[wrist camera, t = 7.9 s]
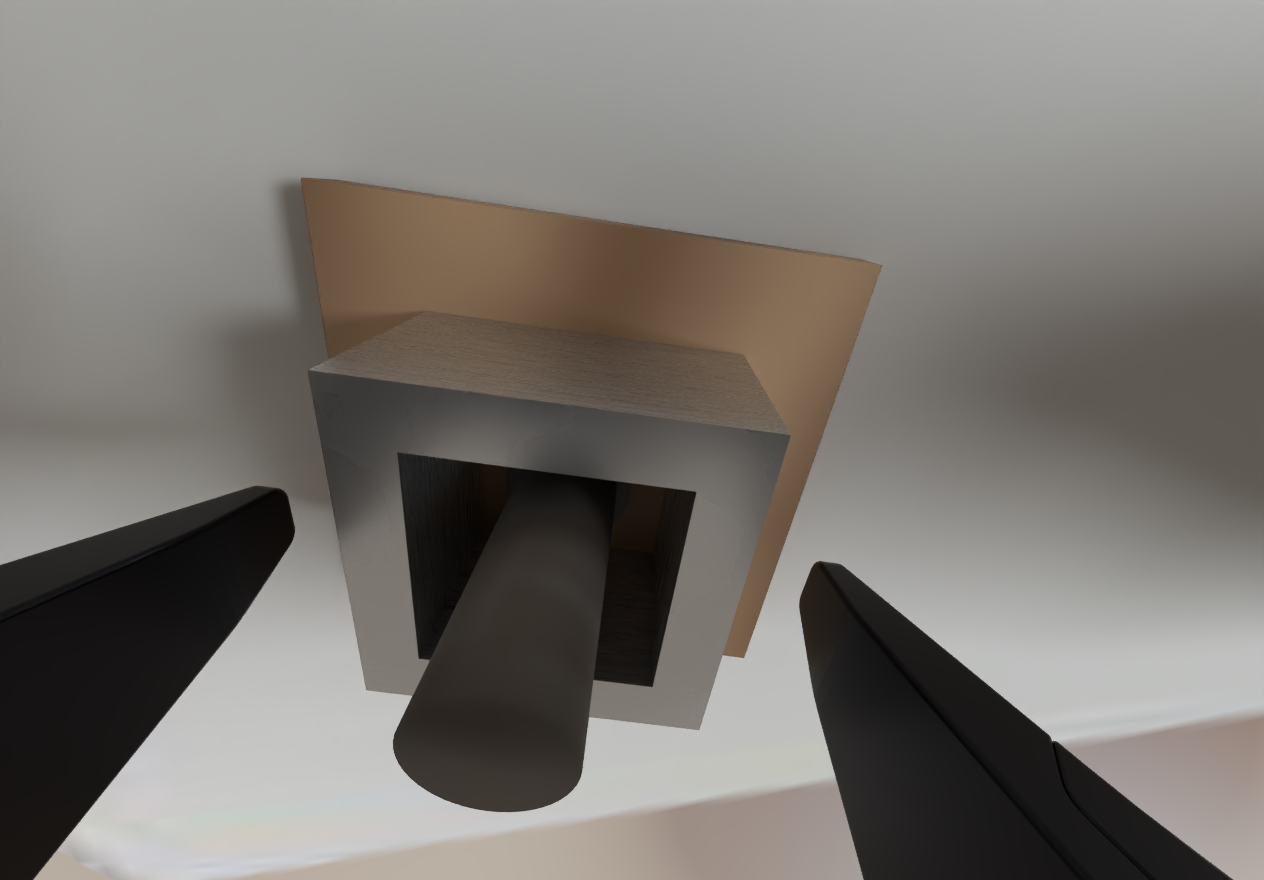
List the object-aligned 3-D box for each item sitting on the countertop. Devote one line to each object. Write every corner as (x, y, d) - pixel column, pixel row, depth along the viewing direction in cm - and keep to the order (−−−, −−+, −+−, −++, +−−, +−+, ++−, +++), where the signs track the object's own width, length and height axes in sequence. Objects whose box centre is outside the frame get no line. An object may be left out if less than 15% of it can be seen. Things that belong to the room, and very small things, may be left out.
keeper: (859, 259, 9) (1295, 385, 3) (738, 627, 14) (809, 988, 7) (336, 179, 9) (-395, 135, 3) (386, 582, 13) (154, 915, 7)
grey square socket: (744, 354, 9) (790, 435, 6) (686, 589, 12) (698, 730, 9) (427, 310, 9) (307, 369, 6) (443, 558, 12) (366, 690, 9)
